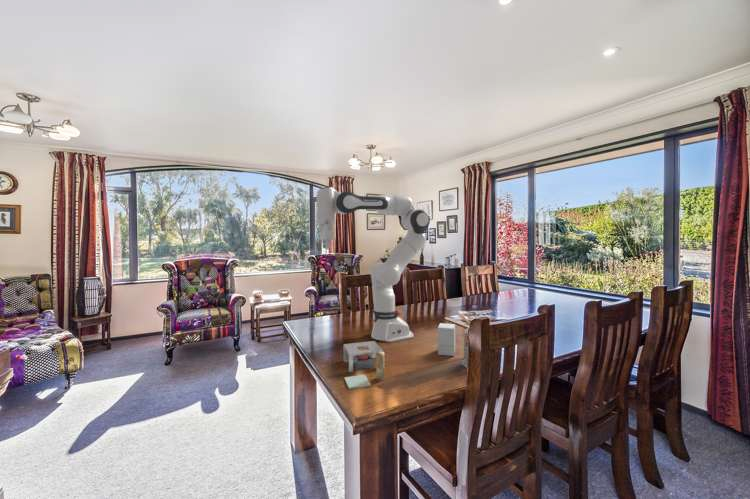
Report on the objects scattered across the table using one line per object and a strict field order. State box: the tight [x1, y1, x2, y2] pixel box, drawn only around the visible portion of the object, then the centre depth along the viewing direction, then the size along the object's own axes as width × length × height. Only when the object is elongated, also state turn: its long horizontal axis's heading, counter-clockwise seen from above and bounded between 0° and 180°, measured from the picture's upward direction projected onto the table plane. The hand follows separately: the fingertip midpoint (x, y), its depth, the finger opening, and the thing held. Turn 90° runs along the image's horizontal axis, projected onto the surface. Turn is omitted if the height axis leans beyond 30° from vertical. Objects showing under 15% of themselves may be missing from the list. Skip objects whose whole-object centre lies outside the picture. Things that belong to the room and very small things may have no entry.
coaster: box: [344, 374, 372, 390], centre depth 117 cm, size 8×8×1 cm
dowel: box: [376, 351, 386, 382], centre depth 119 cm, size 3×3×10 cm
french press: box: [461, 305, 477, 369], centre depth 133 cm, size 10×12×25 cm
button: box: [358, 354, 369, 360], centre depth 132 cm, size 4×4×3 cm
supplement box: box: [437, 322, 456, 357], centre depth 145 cm, size 7×7×13 cm
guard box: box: [342, 340, 384, 373], centre depth 133 cm, size 14×12×7 cm
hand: (326, 248), depth 156 cm, fingers open, 8 cm apart
